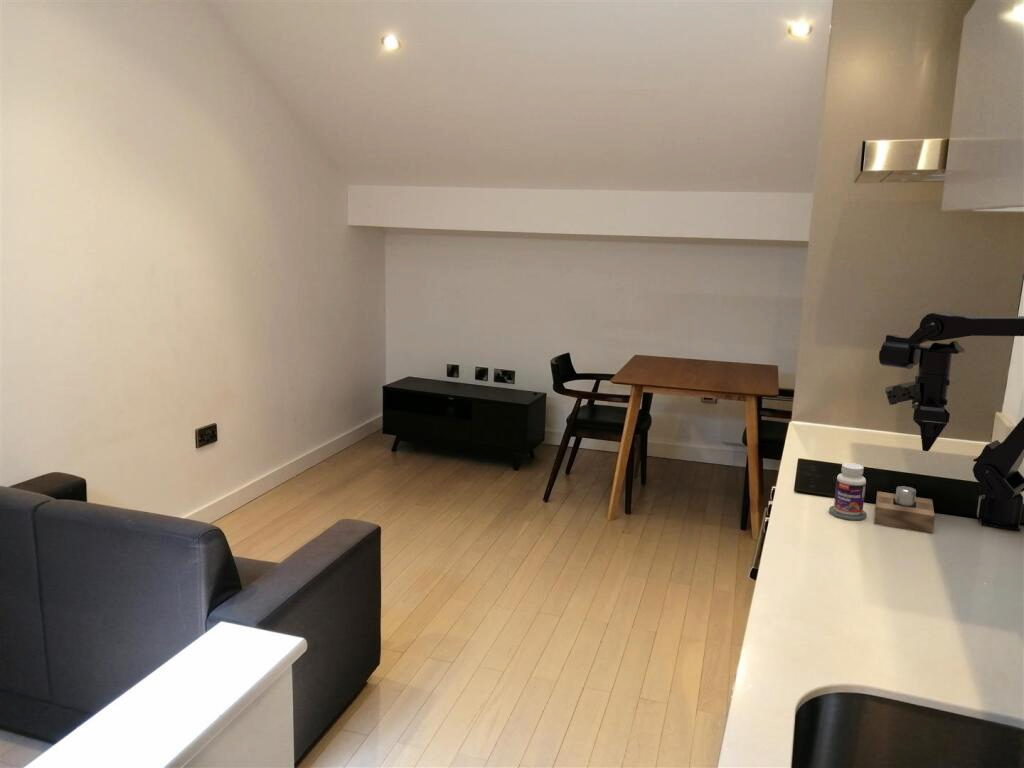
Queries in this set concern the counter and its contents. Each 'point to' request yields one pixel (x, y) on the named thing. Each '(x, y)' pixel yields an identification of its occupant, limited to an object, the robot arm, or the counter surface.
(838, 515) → the coaster
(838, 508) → the pill bottle
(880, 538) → the counter surface
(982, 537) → the counter surface
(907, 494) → the plug
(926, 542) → the counter surface
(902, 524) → the socket block
